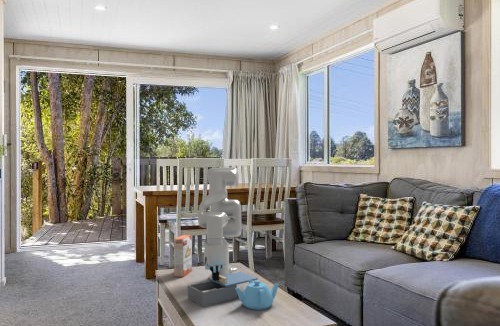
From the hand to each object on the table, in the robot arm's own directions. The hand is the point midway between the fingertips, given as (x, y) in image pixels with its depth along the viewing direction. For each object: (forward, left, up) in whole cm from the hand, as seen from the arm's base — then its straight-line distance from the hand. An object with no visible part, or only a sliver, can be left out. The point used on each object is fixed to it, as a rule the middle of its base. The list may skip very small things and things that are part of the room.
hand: (215, 280), depth 194 cm
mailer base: (+2, 0, -8) cm, 8 cm away
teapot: (-9, +20, -8) cm, 23 cm away
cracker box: (-7, -46, -8) cm, 47 cm away
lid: (-10, 0, -2) cm, 10 cm away
